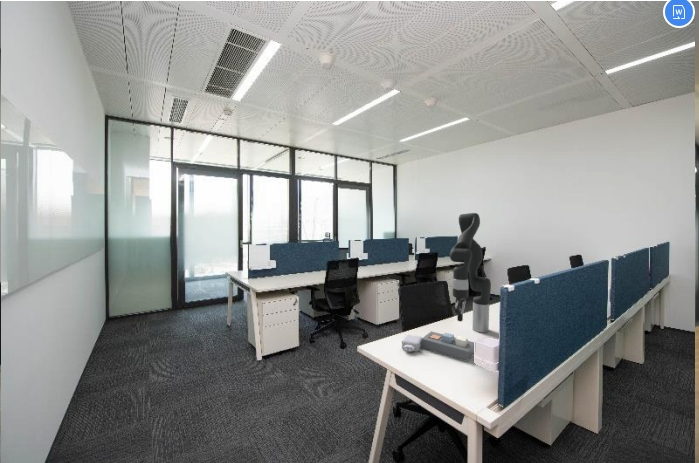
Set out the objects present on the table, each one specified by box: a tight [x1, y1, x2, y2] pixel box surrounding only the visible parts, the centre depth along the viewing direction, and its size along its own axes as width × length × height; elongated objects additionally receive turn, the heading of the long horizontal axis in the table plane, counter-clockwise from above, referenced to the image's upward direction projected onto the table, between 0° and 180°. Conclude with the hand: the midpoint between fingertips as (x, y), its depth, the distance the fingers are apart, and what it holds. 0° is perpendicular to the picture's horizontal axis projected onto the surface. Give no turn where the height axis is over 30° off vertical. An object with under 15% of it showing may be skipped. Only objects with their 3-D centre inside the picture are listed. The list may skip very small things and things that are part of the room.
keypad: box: [420, 330, 475, 362], centre depth 151 cm, size 13×24×5 cm, turn 51°
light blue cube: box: [442, 332, 455, 344], centre depth 151 cm, size 5×5×5 cm
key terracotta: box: [429, 335, 441, 340], centre depth 155 cm, size 5×5×5 cm
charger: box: [401, 334, 423, 353], centre depth 152 cm, size 5×9×15 cm
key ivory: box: [455, 335, 469, 348], centre depth 146 cm, size 5×5×5 cm
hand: (460, 320), depth 147 cm, fingers closed
